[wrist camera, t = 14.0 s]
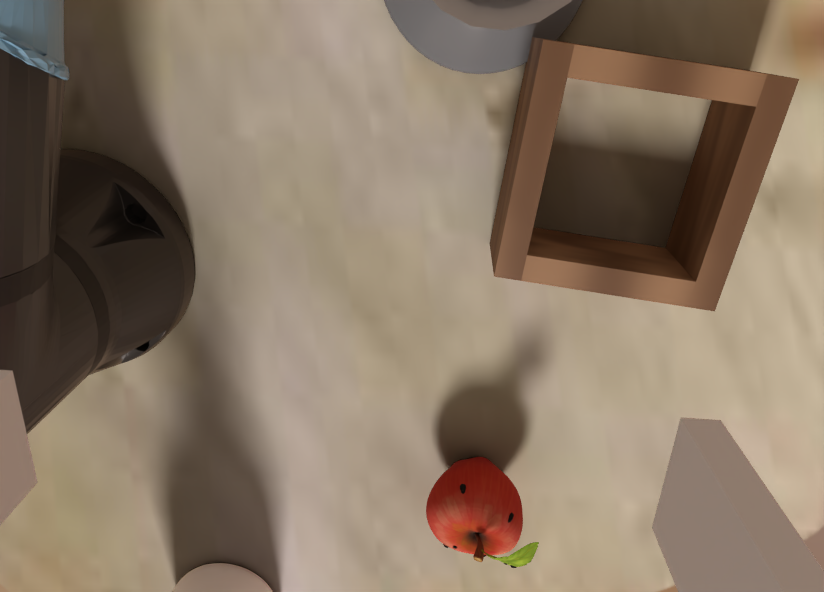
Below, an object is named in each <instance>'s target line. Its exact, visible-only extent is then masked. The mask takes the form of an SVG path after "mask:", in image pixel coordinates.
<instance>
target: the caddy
mask: <svg viewBox="0 0 824 592" xmlns="http://www.w3.org/2000/svg"><path fill="white" fill-rule="evenodd" d="M567 77H568V78H574V79H580V80H587V81H593V82H600V83H606V84H613V85H619V86H626V87H632V88H638V89H645V90H651V91H658V92H664V93H671V94H677V95H684V96H690V97H696V98H703V99H709V100H712V103H711V106H710V109H709V112H708V115H707V118H706V122H705V125H704V128H703V131H702V134H701V137H700V141H699V144H698V147H697V150H696V153H695V156H694V160H693V163H692V166H691V169H690V172H689V175H688V178H687V182H686V185H685V188H684V191H683V194H682V197H681V201H680V204H679V207H678V210H677V213H676V216H675V220H674V223H673V226H672V229H671V232H670V235H669V239H668V242H667V245H666V248H662V247H656V246H650V245H643V244H637V243H631V242H624V241H618V240H612V239H605V238H599V237H592V236H586V235H580V234H573V233H567V232H561V231H554V230H548V229H542V228H535V227H533V226H534V222H535V217H536V213H537V209H538V204H539V200H540V195H541V191H542V187H543V182H544V178H545V173H546V169H547V164H548V160H549V156H550V151H551V147H552V142H553V138H554V134H555V129H556V125H557V120H558V116H559V111H560V107H561V103H562V98H563V94H564V89H565V85H566V81H567ZM798 81H799V79H795V78H790V77H784V76H778V75H772V74H766V73H760V72H755V71H749V70H742V69H736V68H729V67H723V66H716V65H710V64H703V63H697V62H690V61H684V60H678V59H671V58H665V57H658V56H652V55H645V54H639V53H632V52H626V51H619V50H613V49H606V48H600V47H594V46H587V45H581V44H574V43H568V42H561V41H554V40H548V39H541V38H535V37H532V41H531V46H530V51H529V56H528V61H527V62H526V66H525V71H524V76H523V81H522V86H521V91H520V96H519V101H518V106H517V111H516V116H515V121H514V126H513V131H512V136H511V141H510V146H509V151H508V156H507V161H506V166H505V171H504V176H503V181H502V186H501V191H500V196H499V201H498V206H497V210H496V215H495V220H494V225H493V230H492V235H491V240H490V249H491V257H492V264H493V272H494V276H495V277H501V278H507V279H514V280H520V281H526V282H533V283H539V284H545V285H552V286H558V287H564V288H571V289H577V290H583V291H590V292H596V293H602V294H609V295H615V296H622V297H628V298H634V299H641V300H647V301H653V302H660V303H666V304H672V305H679V306H685V307H691V308H698V309H704V310H710V311H715V309H716V306H717V303H718V300H719V298H720V295H721V292H722V289H723V287H724V284H725V281H726V278H727V276H728V273H729V270H730V267H731V265H732V262H733V259H734V256H735V254H736V251H737V248H738V245H739V243H740V240H741V237H742V235H743V232H744V229H745V226H746V224H747V221H748V218H749V215H750V213H751V210H752V207H753V204H754V202H755V199H756V196H757V193H758V191H759V188H760V185H761V182H762V180H763V177H764V174H765V171H766V169H767V166H768V163H769V160H770V158H771V155H772V152H773V149H774V147H775V144H776V141H777V138H778V136H779V133H780V130H781V127H782V125H783V122H784V119H785V116H786V114H787V111H788V108H789V105H790V103H791V100H792V97H793V94H794V92H795V89H796V86H797V83H798Z"/></svg>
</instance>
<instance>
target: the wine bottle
mask: <svg viewBox="0 0 824 592" xmlns="http://www.w3.org/2000/svg"><path fill="white" fill-rule="evenodd" d="M172 592H273V591H272V590H271V588H270V587H269V586H268V584H267V583H266V582H265V581H264V580H263V579H262V578H261V577H259V576H258V575H256V574H255V573H253V572H251V571H250V570H248V569H245V568H243V567H240V566H237V565H232V564H225V563H212V564H206V565H203V566H200V567H197V568H195V569H193V570H191V571H190V572H188V573H187V574H186V575H185V576H183V577H182V578H181V579H180V581H179V582H178V583H177V584H176V586H175V587H174V589H173V591H172Z"/></svg>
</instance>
